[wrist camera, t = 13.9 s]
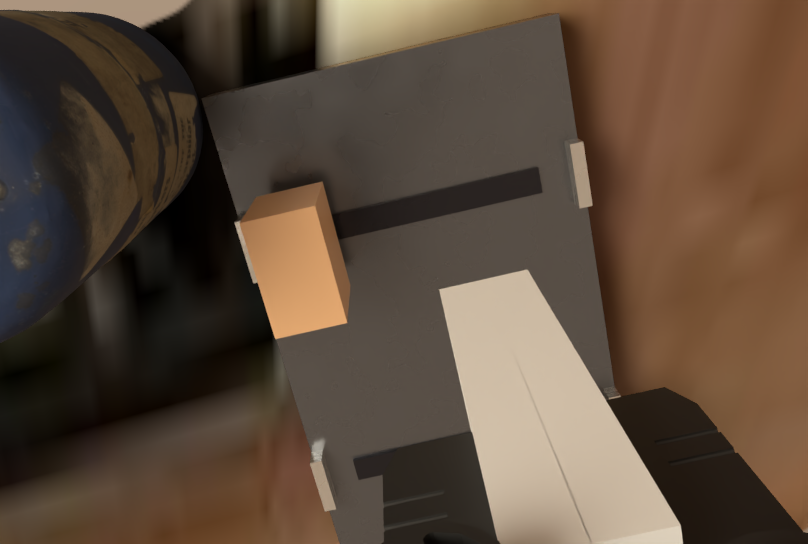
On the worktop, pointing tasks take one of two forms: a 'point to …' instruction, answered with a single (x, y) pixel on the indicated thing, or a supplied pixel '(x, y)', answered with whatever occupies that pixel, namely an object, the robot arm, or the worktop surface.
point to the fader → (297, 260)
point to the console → (418, 229)
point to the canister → (83, 150)
